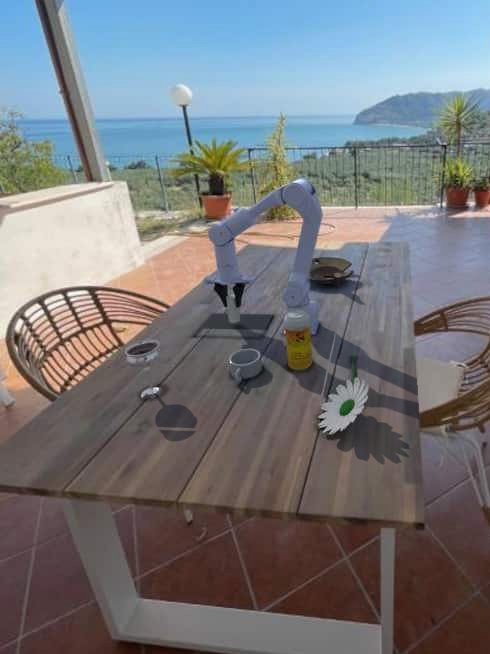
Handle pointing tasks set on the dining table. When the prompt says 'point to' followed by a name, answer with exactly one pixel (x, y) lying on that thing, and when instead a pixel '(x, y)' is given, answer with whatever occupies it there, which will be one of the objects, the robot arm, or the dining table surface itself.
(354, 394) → the flower
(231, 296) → the white peg
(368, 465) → the dining table surface
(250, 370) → the steel mug
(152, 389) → the wineglass
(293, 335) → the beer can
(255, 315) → the rubber mat
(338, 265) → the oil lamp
